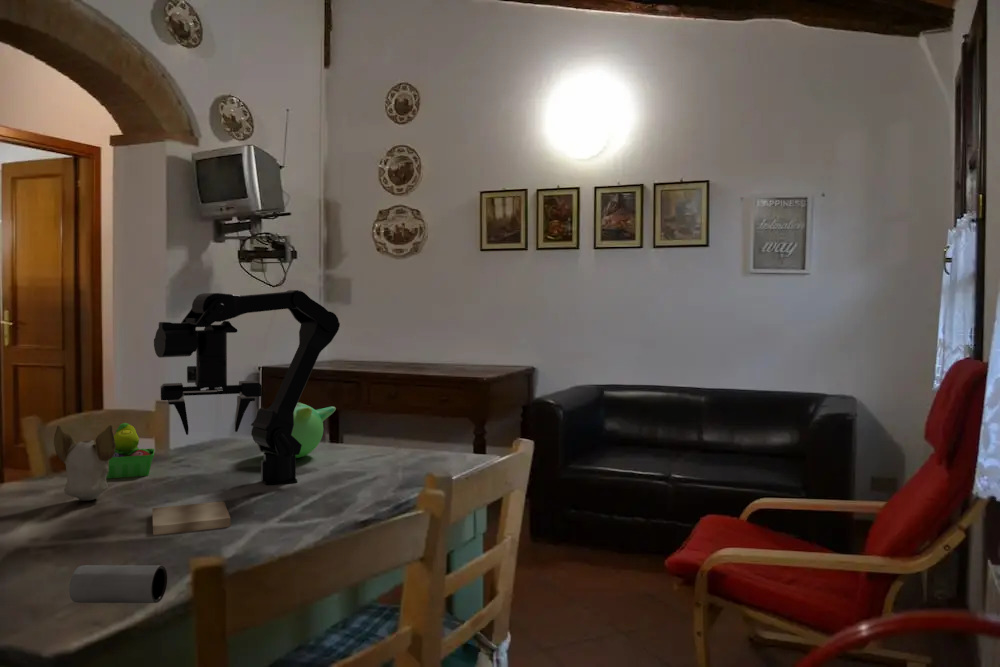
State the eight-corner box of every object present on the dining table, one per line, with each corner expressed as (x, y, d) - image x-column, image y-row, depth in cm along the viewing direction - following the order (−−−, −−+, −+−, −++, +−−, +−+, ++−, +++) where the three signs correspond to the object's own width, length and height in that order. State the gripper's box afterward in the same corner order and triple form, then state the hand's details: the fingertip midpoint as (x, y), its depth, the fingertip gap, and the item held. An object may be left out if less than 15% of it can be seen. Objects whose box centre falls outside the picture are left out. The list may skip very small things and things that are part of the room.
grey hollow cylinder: (86, 599, 97) (165, 600, 97) (66, 605, 92) (150, 605, 92) (90, 563, 97) (169, 563, 98) (70, 567, 93) (153, 567, 93)
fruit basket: (94, 482, 158) (94, 429, 158) (98, 473, 166) (98, 423, 166) (154, 477, 163) (153, 426, 162) (155, 469, 171) (154, 420, 170)
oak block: (223, 511, 138) (223, 501, 138) (230, 529, 127) (230, 517, 127) (152, 519, 133) (152, 508, 133) (153, 538, 122) (153, 526, 122)
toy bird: (275, 450, 195) (275, 394, 194) (337, 452, 192) (337, 395, 192) (242, 464, 177) (242, 402, 176) (310, 467, 174) (310, 404, 174)
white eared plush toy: (125, 495, 147) (125, 420, 146) (110, 507, 138) (109, 427, 138) (67, 497, 145) (66, 420, 145) (48, 509, 137) (47, 428, 136)
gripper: (254, 352, 161) (255, 424, 161) (159, 353, 153) (160, 429, 153) (262, 355, 151) (262, 432, 151) (160, 357, 143) (161, 438, 143)
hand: (211, 433), depth 150 cm, fingers open, 9 cm apart
